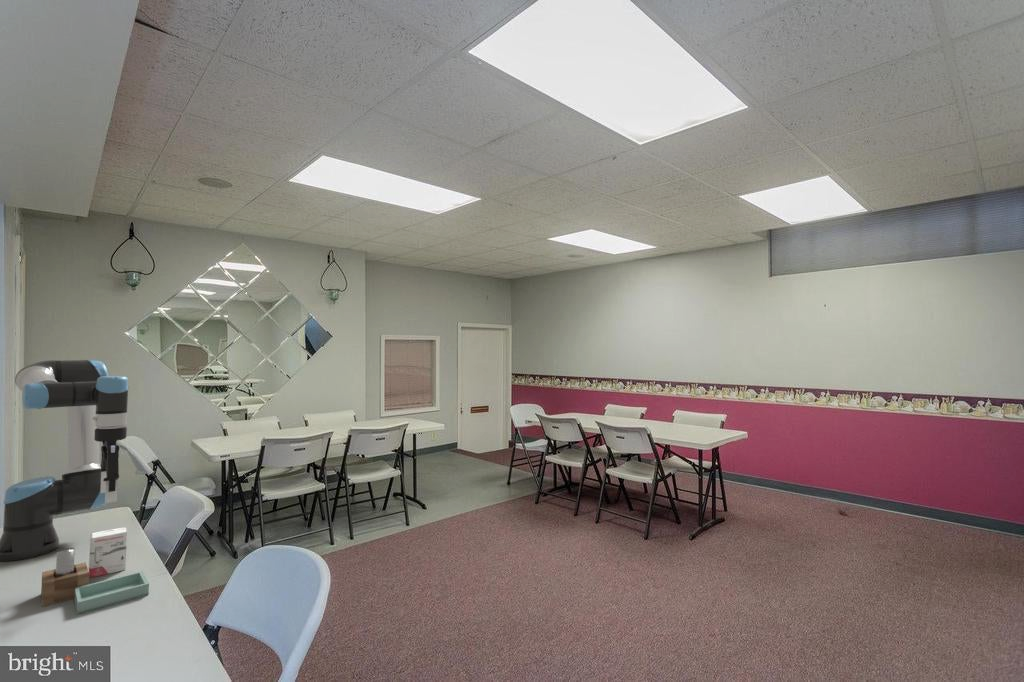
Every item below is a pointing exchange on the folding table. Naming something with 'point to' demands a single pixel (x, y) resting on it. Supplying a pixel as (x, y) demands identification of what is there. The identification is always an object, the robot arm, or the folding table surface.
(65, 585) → the wooden square holder
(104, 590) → the tray
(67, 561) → the cylinder
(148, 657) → the folding table surface
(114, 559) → the ink box
